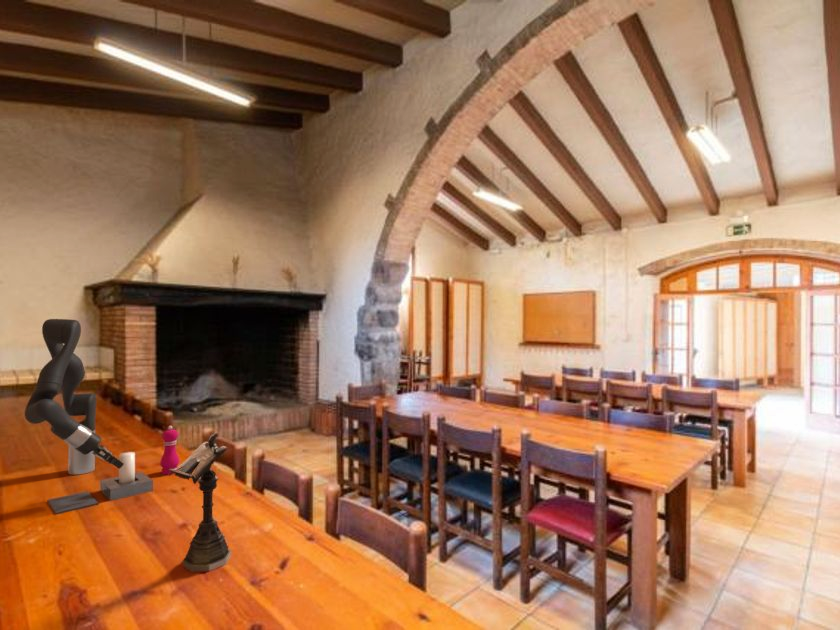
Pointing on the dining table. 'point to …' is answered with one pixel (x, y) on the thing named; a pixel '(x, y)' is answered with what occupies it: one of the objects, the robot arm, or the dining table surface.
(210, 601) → the dining table surface
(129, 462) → the plug
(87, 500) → the mat
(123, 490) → the block
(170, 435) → the pepper mill
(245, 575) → the dining table surface
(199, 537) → the ornate lectern
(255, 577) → the dining table surface
